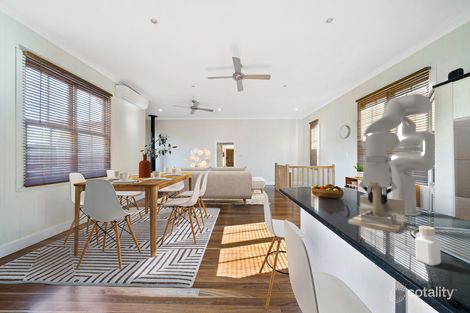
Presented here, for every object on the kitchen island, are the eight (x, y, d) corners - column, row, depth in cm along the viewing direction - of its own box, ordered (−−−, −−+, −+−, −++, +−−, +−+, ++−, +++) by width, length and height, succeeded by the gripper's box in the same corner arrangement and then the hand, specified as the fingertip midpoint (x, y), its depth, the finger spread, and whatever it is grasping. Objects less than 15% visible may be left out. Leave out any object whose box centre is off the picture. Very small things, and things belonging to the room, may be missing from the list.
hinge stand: (361, 216, 103) (360, 195, 103) (405, 224, 90) (404, 199, 90) (348, 223, 92) (347, 199, 92) (395, 233, 79) (394, 205, 80)
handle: (388, 219, 86) (386, 183, 86) (369, 217, 89) (368, 182, 89) (386, 216, 90) (385, 182, 90) (369, 215, 93) (368, 181, 94)
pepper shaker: (431, 266, 54) (430, 230, 55) (414, 260, 58) (413, 225, 59) (442, 264, 56) (440, 228, 56) (425, 257, 59) (423, 224, 60)
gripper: (402, 160, 86) (404, 204, 86) (358, 160, 99) (359, 199, 99) (398, 160, 81) (399, 207, 81) (352, 161, 94) (353, 201, 94)
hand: (377, 202), depth 90 cm, fingers closed on handle, 4 cm apart
